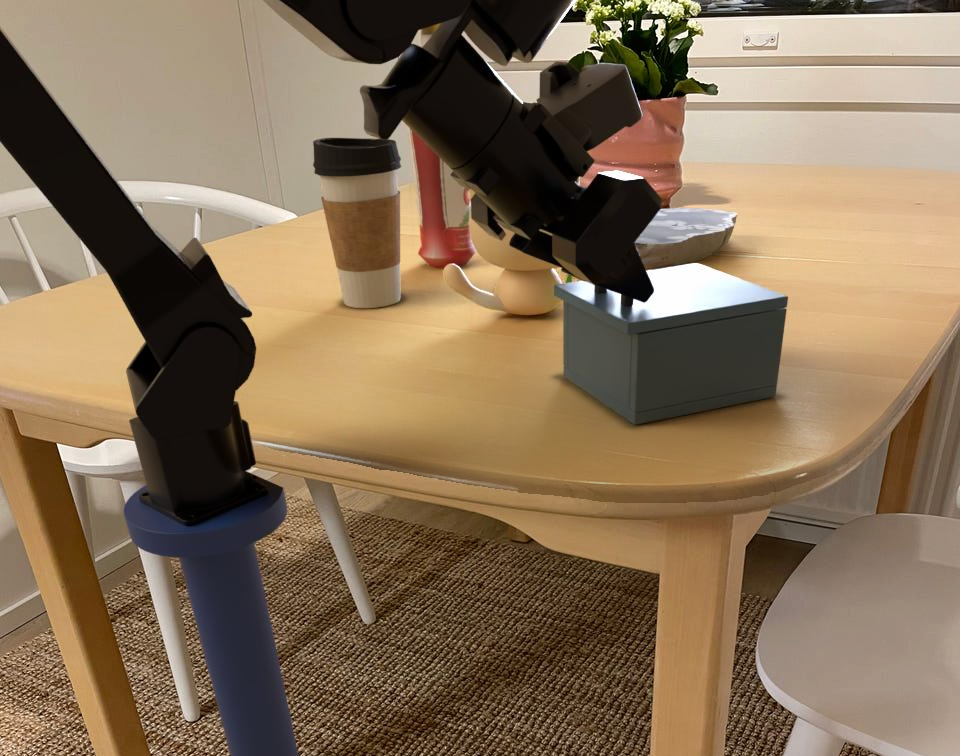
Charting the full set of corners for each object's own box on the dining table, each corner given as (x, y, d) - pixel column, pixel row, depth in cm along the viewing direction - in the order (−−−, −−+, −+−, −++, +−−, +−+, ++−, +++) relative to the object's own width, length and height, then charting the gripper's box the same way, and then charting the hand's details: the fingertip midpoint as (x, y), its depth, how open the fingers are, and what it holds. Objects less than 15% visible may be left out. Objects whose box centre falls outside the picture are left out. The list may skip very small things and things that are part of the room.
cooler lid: (627, 335, 63) (630, 266, 61) (553, 295, 73) (552, 234, 70) (787, 307, 67) (795, 241, 64) (696, 273, 76) (701, 213, 73)
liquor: (437, 254, 115) (417, -29, 99) (490, 257, 112) (478, -33, 96) (405, 268, 110) (378, -28, 94) (460, 272, 107) (442, -33, 91)
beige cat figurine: (624, 304, 93) (630, 131, 84) (588, 333, 85) (590, 147, 77) (486, 293, 99) (479, 131, 90) (441, 320, 91) (429, 146, 83)
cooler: (634, 425, 67) (638, 334, 64) (562, 376, 76) (562, 294, 73) (775, 397, 70) (787, 308, 67) (690, 353, 80) (696, 273, 76)
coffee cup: (336, 292, 102) (316, 135, 94) (415, 288, 102) (401, 130, 94) (327, 314, 95) (303, 147, 87) (411, 309, 95) (396, 141, 87)
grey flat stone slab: (625, 229, 121) (625, 204, 120) (754, 238, 113) (757, 211, 112) (549, 264, 108) (549, 236, 106) (690, 277, 100) (692, 247, 98)
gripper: (639, 12, 50) (788, 213, 59) (504, 14, 65) (640, 175, 74) (505, 192, 52) (669, 359, 61) (404, 155, 67) (549, 294, 76)
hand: (631, 288), depth 68 cm, fingers closed on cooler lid, 5 cm apart
